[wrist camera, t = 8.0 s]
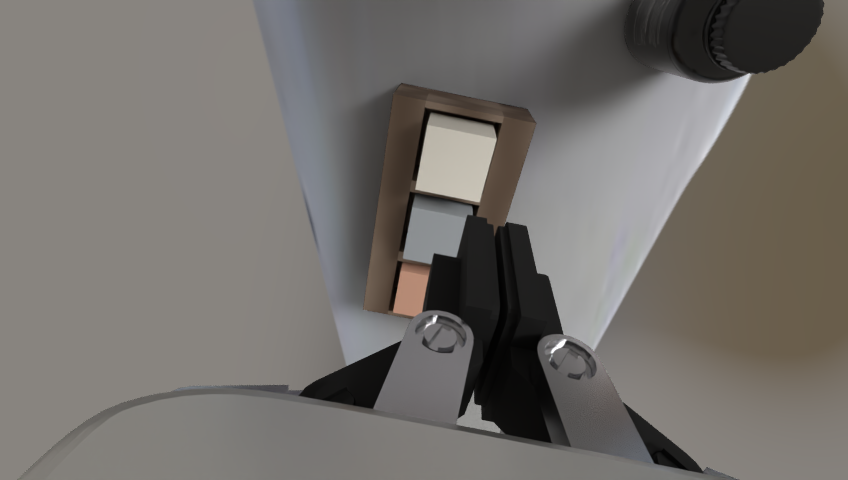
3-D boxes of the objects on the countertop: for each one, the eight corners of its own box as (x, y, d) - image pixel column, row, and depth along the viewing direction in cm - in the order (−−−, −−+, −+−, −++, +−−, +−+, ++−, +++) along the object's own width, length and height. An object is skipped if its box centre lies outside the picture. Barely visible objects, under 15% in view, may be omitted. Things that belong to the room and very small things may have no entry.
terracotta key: (405, 248, 42) (400, 270, 38) (455, 258, 42) (454, 281, 38) (398, 288, 44) (392, 312, 41) (444, 297, 44) (443, 322, 41)
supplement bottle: (663, 85, 34) (752, 120, 24) (603, 32, 33) (669, 44, 22) (739, 6, 31) (878, 6, 21) (676, -57, 30) (792, -90, 19)
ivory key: (430, 112, 33) (427, 124, 29) (493, 125, 33) (496, 139, 30) (419, 171, 35) (415, 189, 32) (477, 183, 35) (479, 202, 32)
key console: (372, 280, 46) (363, 309, 42) (401, 83, 36) (393, 93, 31) (470, 299, 46) (470, 330, 42) (527, 109, 36) (536, 123, 32)
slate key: (416, 188, 37) (412, 207, 34) (471, 199, 37) (472, 219, 34) (407, 236, 40) (402, 258, 36) (459, 246, 40) (459, 269, 36)
